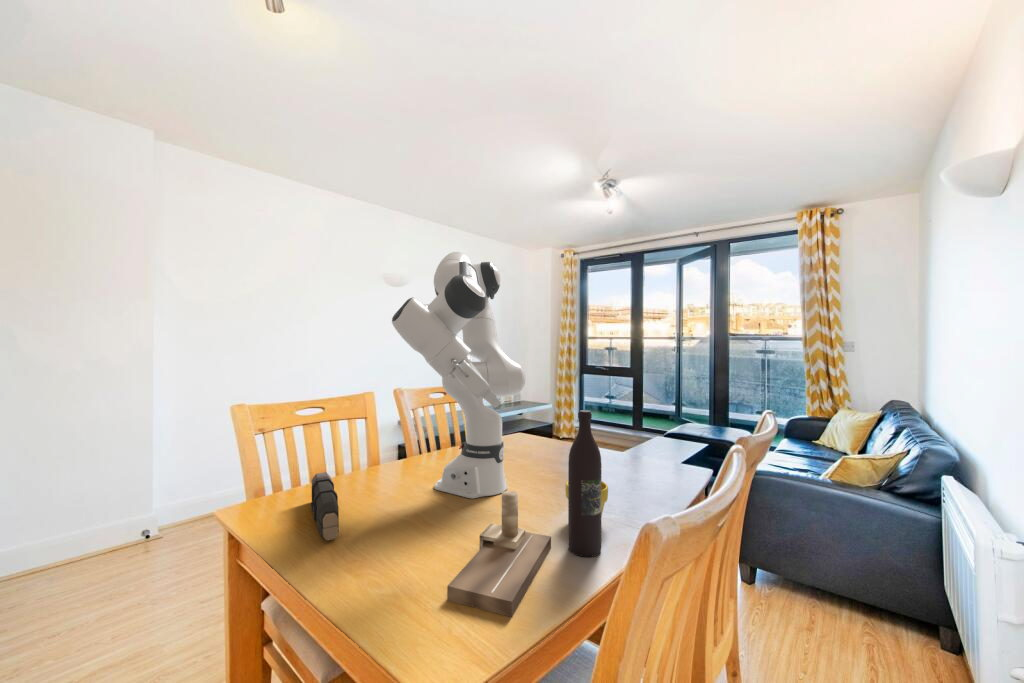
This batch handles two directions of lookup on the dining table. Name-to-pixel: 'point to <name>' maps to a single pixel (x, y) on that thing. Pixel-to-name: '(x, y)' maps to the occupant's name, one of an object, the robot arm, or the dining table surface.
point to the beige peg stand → (505, 525)
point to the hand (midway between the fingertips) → (495, 402)
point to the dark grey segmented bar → (325, 505)
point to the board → (499, 575)
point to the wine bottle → (584, 491)
